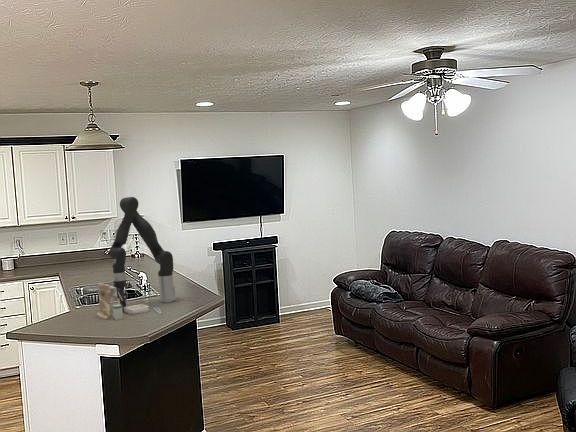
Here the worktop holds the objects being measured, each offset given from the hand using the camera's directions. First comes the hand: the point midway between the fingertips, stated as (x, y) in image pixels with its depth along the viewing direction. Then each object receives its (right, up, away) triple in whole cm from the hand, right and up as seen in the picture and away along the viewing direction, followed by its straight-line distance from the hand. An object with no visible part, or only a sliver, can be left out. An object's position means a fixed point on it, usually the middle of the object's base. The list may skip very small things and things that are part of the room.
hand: (121, 305), depth 376 cm
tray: (+11, -3, -6) cm, 13 cm away
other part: (+4, -5, -22) cm, 23 cm away
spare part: (0, -3, 0) cm, 3 cm away
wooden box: (-4, -4, -13) cm, 14 cm away
